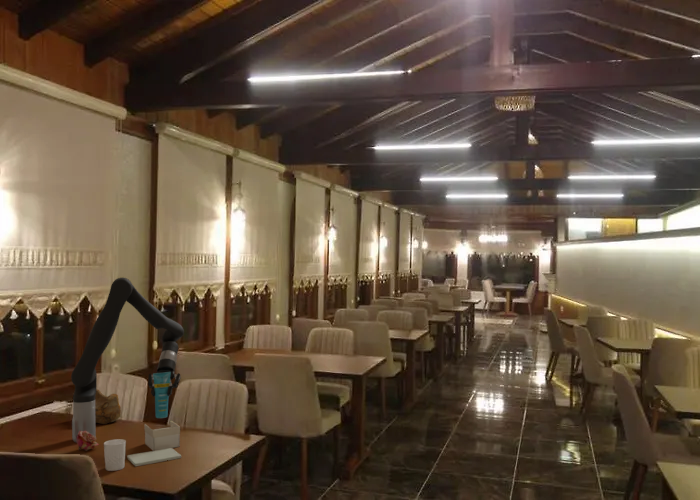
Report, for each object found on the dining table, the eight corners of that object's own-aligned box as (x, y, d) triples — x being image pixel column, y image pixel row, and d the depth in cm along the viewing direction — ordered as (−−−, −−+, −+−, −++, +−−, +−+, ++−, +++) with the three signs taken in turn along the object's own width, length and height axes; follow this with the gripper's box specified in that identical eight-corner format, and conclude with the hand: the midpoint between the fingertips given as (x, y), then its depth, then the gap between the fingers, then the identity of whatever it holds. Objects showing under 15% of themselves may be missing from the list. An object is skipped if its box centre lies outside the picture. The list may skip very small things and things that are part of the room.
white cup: (107, 465, 246) (107, 439, 246) (128, 464, 247) (128, 438, 247) (101, 472, 238) (101, 445, 238) (122, 471, 239) (122, 444, 239)
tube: (154, 419, 269) (154, 374, 269) (151, 417, 273) (151, 372, 273) (172, 417, 273) (172, 372, 273) (168, 414, 277) (168, 370, 277)
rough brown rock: (64, 425, 312) (62, 395, 311) (92, 414, 327) (90, 386, 326) (97, 432, 302) (95, 401, 300) (124, 420, 316) (123, 391, 315)
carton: (153, 451, 263) (153, 430, 264) (144, 443, 275) (144, 424, 275) (180, 446, 270) (180, 426, 270) (170, 439, 281) (170, 420, 281)
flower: (70, 450, 260) (82, 434, 261) (68, 440, 268) (80, 424, 269) (91, 460, 265) (102, 443, 266) (88, 450, 273) (100, 434, 274)
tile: (135, 466, 244) (135, 463, 244) (127, 457, 255) (127, 455, 255) (181, 457, 254) (181, 455, 254) (171, 450, 265) (171, 447, 265)
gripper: (149, 358, 280) (142, 390, 268) (182, 357, 281) (176, 390, 269) (152, 368, 285) (145, 400, 273) (184, 367, 286) (179, 399, 274)
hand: (160, 395), depth 271 cm, fingers closed on tube, 5 cm apart
